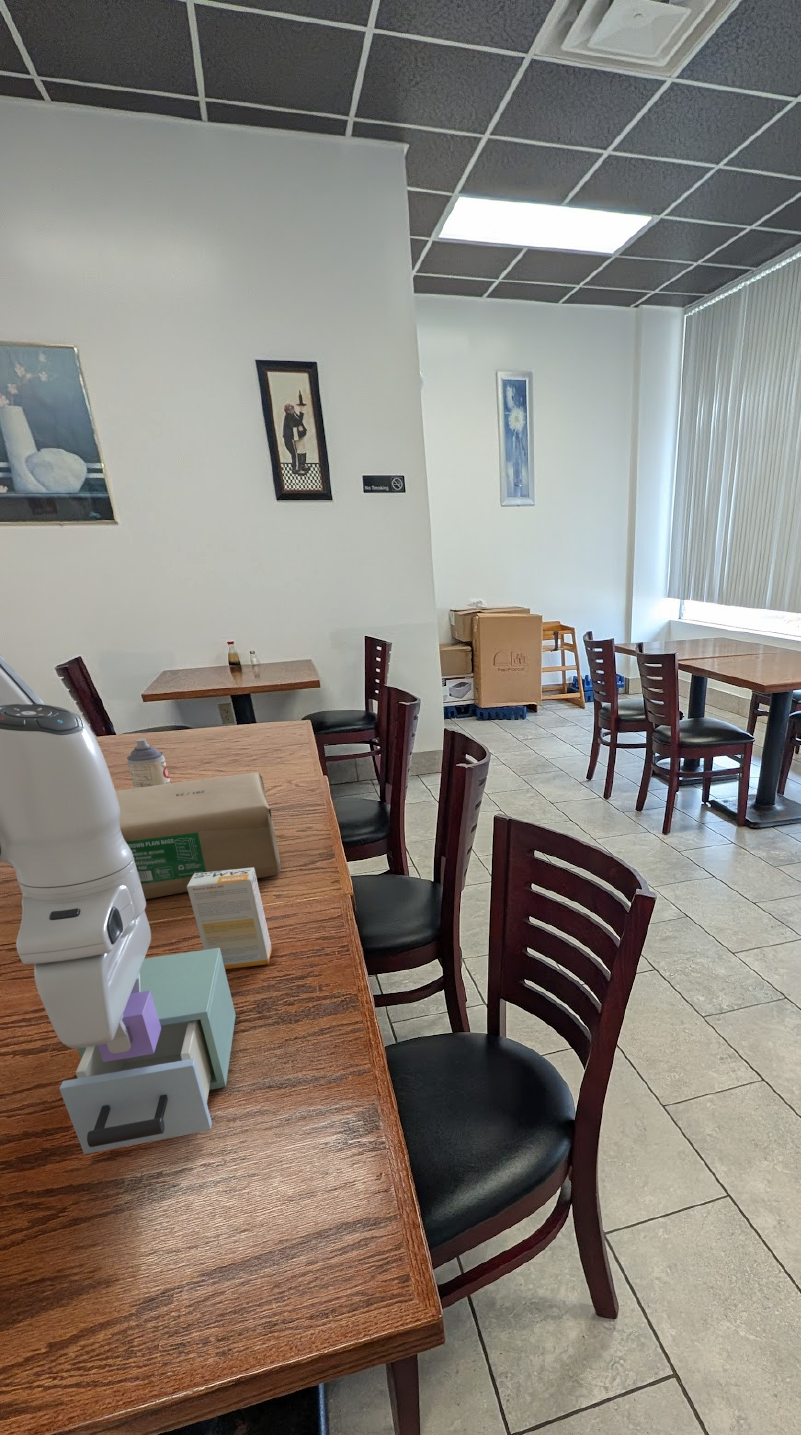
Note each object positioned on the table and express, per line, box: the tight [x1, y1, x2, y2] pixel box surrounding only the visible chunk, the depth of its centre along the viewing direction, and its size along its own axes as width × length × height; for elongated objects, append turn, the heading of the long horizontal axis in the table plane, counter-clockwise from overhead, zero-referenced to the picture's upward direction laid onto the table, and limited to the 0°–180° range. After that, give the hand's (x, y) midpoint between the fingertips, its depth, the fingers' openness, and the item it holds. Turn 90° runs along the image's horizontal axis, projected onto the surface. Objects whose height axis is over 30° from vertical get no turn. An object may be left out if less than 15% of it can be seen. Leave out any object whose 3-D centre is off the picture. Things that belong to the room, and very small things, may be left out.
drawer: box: [59, 1019, 213, 1155], centre depth 74 cm, size 18×11×8 cm, turn 15°
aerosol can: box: [126, 738, 171, 788], centre depth 152 cm, size 7×7×20 cm
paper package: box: [115, 771, 282, 900], centre depth 136 cm, size 27×26×14 cm
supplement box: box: [187, 868, 273, 970], centre depth 104 cm, size 8×5×13 cm, turn 100°
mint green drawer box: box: [76, 948, 237, 1091], centre depth 84 cm, size 15×13×10 cm
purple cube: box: [98, 991, 161, 1062], centre depth 71 cm, size 4×4×4 cm
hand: (128, 1031), depth 71 cm, fingers closed on purple cube, 4 cm apart
